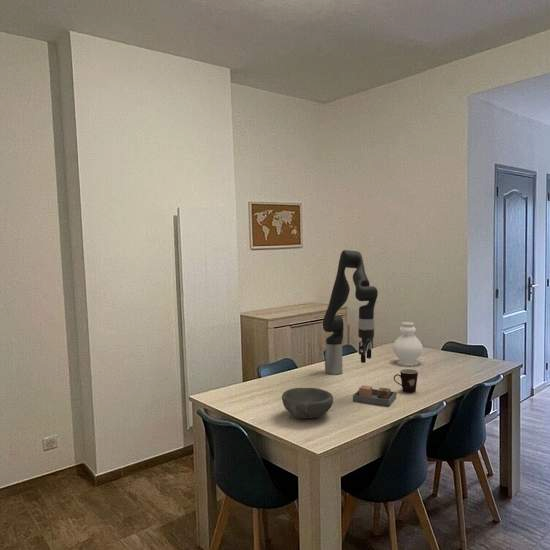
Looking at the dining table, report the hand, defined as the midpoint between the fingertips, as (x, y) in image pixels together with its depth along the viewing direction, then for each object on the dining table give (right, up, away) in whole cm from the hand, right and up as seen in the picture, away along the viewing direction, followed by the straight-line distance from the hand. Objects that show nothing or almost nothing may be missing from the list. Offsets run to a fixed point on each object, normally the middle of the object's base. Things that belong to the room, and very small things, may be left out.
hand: (366, 360), depth 235 cm
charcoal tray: (+4, -18, -3) cm, 19 cm away
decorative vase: (+37, -13, +63) cm, 74 cm away
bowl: (-30, -21, -22) cm, 42 cm away
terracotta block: (0, -18, -1) cm, 18 cm away
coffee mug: (+22, -17, +10) cm, 30 cm away
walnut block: (+8, -18, -5) cm, 20 cm away
